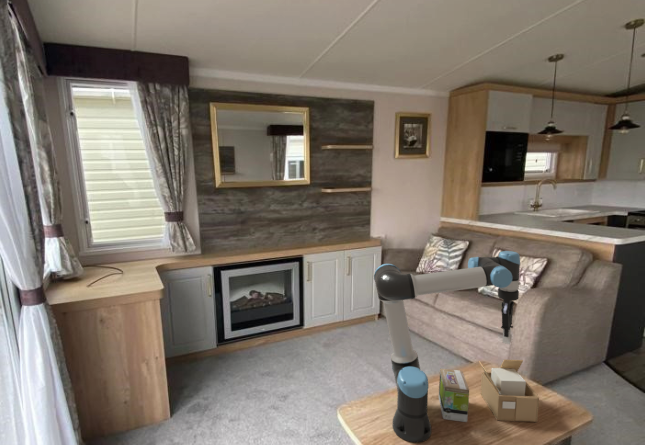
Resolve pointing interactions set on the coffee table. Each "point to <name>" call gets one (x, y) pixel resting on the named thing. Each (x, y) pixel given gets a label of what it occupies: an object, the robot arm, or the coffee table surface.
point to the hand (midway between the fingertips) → (506, 342)
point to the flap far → (511, 364)
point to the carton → (509, 396)
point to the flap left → (488, 376)
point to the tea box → (453, 395)
